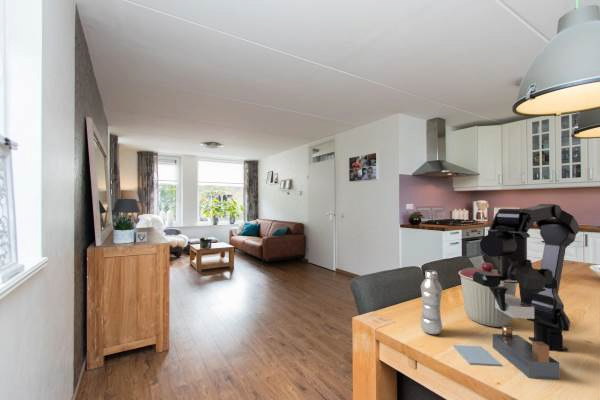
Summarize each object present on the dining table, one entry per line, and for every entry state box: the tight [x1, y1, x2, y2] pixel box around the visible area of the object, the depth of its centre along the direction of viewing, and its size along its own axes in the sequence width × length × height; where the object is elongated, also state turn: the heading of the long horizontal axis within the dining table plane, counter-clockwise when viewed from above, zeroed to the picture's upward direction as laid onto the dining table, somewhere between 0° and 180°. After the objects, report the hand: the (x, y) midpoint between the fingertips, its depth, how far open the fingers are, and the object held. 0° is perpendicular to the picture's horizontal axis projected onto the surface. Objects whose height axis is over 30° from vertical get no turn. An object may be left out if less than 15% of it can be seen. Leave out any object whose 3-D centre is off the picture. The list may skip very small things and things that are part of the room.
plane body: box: [492, 325, 560, 380], centre depth 73 cm, size 14×7×8 cm, turn 175°
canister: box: [458, 262, 518, 328], centre depth 98 cm, size 18×18×21 cm
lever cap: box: [495, 294, 534, 320], centre depth 74 cm, size 7×5×4 cm
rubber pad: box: [452, 344, 502, 367], centre depth 76 cm, size 9×8×1 cm
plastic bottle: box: [420, 269, 443, 335], centre depth 89 cm, size 6×7×20 cm
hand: (513, 311), depth 74 cm, fingers closed on lever cap, 5 cm apart
